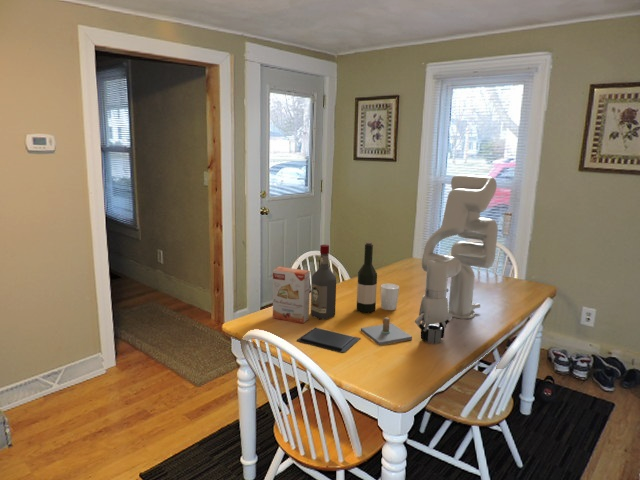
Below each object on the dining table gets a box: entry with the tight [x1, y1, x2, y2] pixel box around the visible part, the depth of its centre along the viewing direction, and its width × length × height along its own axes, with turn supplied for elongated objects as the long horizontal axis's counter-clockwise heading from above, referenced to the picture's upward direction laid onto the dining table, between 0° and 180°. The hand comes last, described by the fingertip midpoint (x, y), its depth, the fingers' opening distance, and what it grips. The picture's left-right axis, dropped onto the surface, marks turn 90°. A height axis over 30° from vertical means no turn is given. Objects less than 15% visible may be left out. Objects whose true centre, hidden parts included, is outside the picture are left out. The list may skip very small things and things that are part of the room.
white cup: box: [380, 283, 400, 311], centre depth 208 cm, size 8×8×10 cm
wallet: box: [296, 327, 362, 354], centre depth 175 cm, size 20×2×15 cm
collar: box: [424, 323, 442, 345], centre depth 176 cm, size 6×6×5 cm
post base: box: [360, 316, 413, 346], centre depth 179 cm, size 14×14×7 cm
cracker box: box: [272, 266, 311, 324], centre depth 192 cm, size 14×6×21 cm, turn 69°
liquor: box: [310, 244, 337, 321], centre depth 195 cm, size 9×9×30 cm
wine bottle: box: [356, 241, 378, 314], centre depth 202 cm, size 8×8×30 cm
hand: (432, 338), depth 177 cm, fingers open, 6 cm apart
